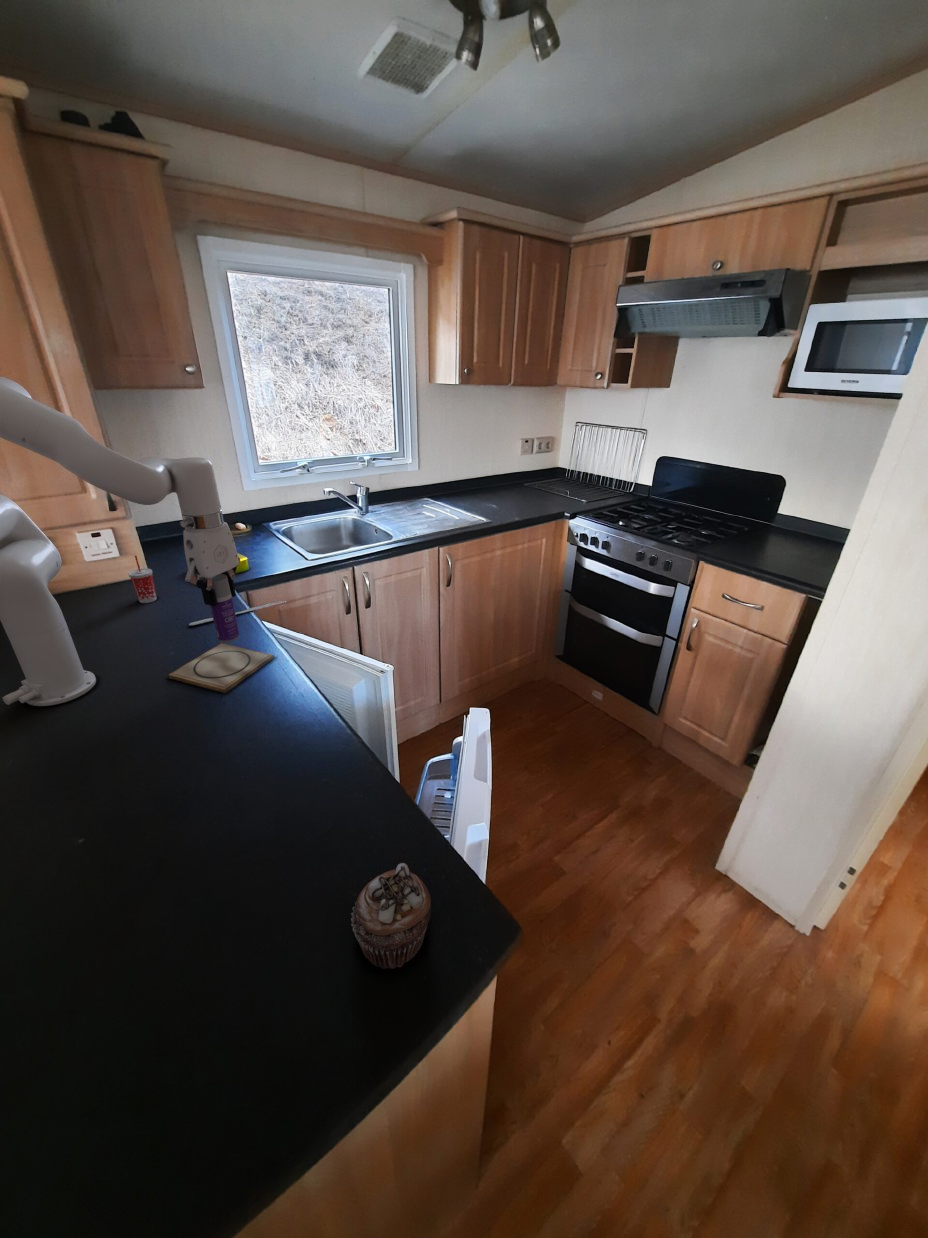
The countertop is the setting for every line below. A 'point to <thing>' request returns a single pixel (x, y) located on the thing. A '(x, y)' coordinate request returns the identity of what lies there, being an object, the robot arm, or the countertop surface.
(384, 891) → the cupcake
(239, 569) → the yellow flat square block
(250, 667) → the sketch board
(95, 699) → the countertop surface
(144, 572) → the beverage cup
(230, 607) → the container
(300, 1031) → the countertop surface
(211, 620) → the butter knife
